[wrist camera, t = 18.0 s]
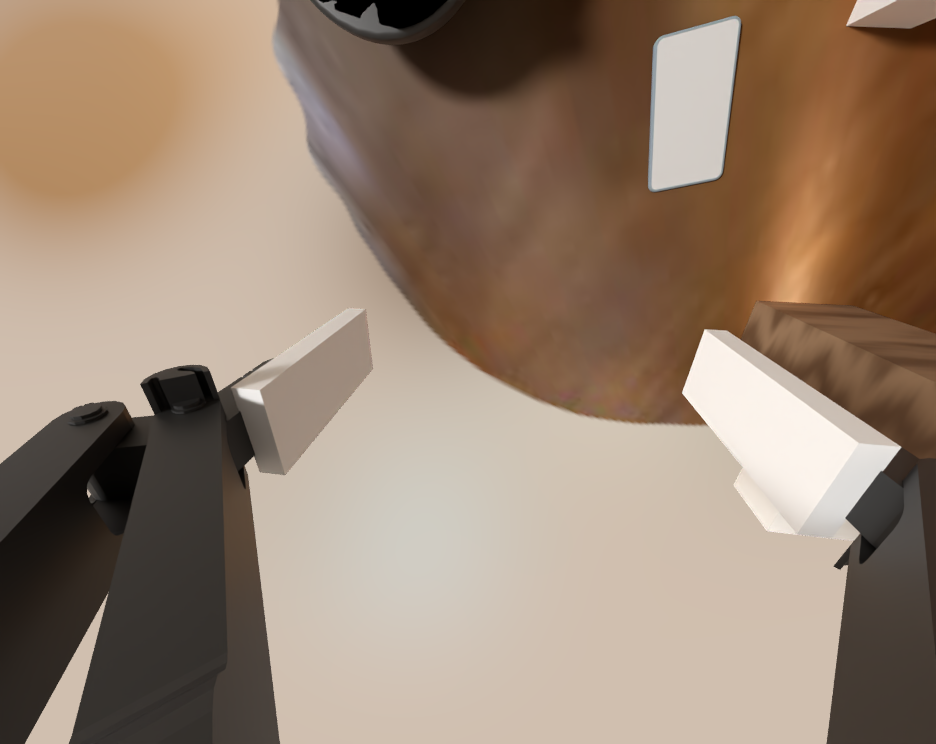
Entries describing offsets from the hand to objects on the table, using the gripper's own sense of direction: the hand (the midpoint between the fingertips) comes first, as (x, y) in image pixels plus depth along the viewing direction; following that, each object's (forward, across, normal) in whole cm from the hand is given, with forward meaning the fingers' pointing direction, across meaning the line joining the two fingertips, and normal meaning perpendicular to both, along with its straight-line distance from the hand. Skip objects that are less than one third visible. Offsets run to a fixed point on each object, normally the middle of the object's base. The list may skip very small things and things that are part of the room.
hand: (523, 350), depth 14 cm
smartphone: (+39, +18, +14) cm, 45 cm away
